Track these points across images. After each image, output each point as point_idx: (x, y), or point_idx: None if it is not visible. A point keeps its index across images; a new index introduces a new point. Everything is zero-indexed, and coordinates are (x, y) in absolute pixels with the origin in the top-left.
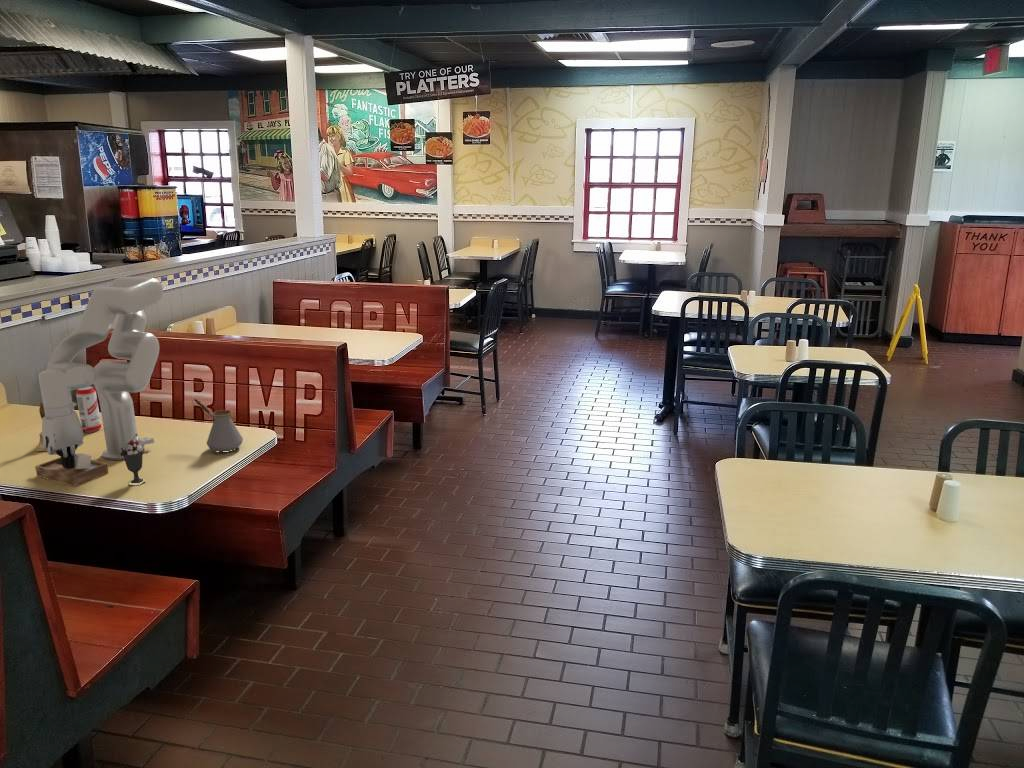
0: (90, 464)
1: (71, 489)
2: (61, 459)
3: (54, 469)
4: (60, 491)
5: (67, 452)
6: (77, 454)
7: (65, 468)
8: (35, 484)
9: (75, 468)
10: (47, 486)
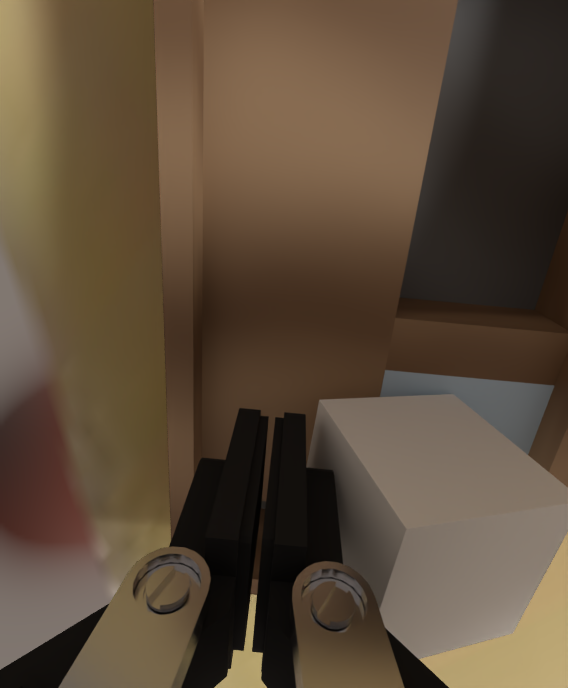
0: (520, 435)
1: (146, 523)
2: (177, 529)
3: (275, 176)
4: (84, 486)
5: (275, 653)
6: (431, 583)
7: (348, 281)
8: (43, 170)
9: (382, 384)
10: (82, 325)
